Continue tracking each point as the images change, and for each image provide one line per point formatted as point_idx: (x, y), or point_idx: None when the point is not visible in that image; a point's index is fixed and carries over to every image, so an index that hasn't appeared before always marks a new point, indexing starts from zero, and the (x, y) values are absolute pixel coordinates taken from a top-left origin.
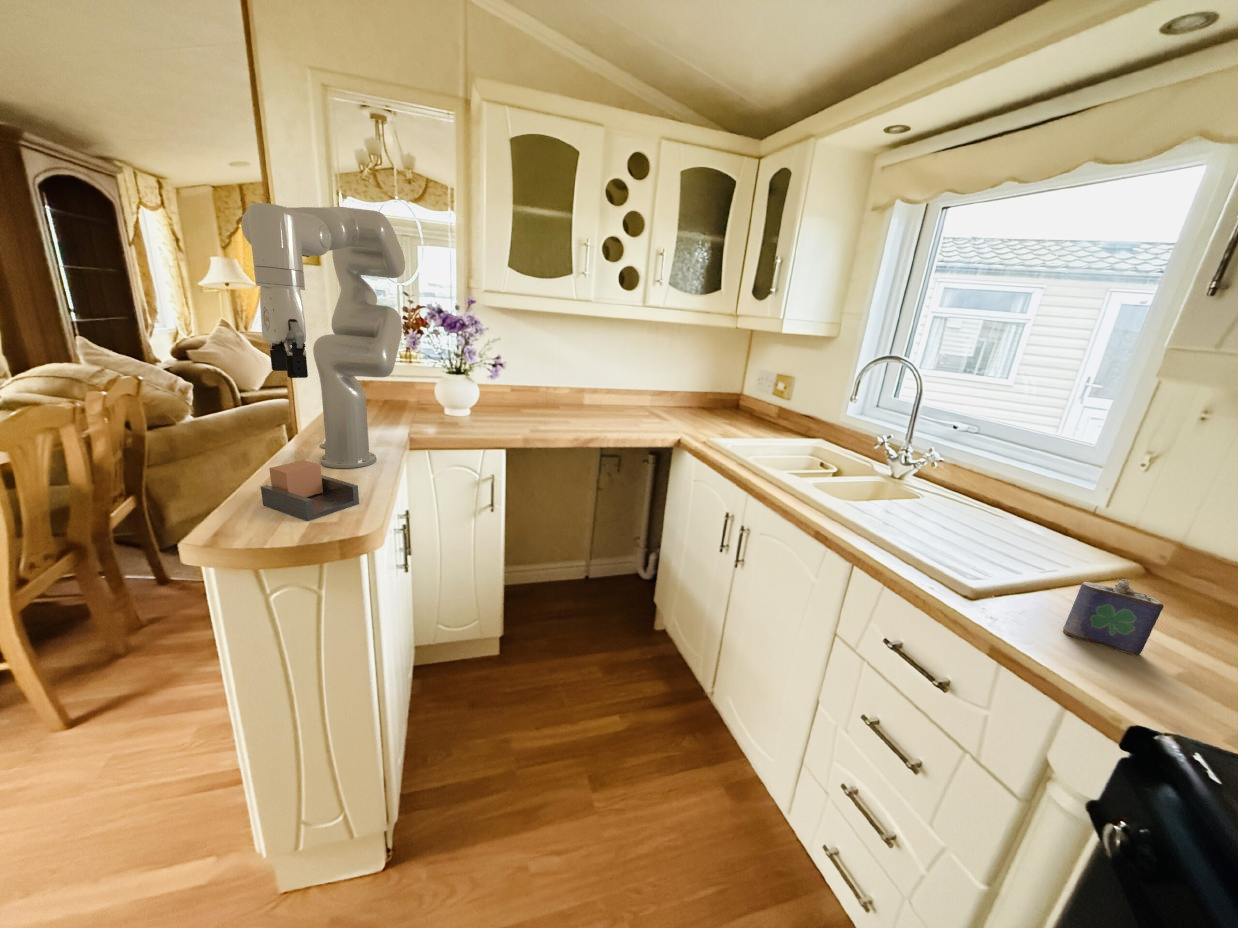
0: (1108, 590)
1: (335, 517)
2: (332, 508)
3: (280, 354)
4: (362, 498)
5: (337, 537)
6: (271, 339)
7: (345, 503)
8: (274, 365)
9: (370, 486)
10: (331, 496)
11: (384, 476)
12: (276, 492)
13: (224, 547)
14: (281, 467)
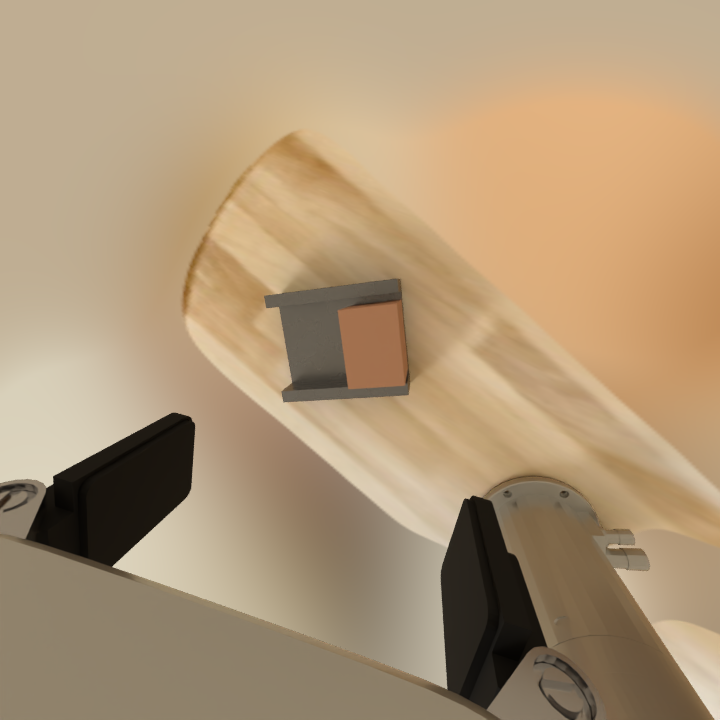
0: None
1: (268, 331)
2: (285, 341)
3: (464, 634)
4: (316, 408)
5: (198, 291)
6: (48, 584)
7: (290, 367)
8: (469, 523)
9: (361, 454)
10: (336, 371)
11: (393, 503)
12: (346, 285)
13: (266, 156)
14: (383, 323)
